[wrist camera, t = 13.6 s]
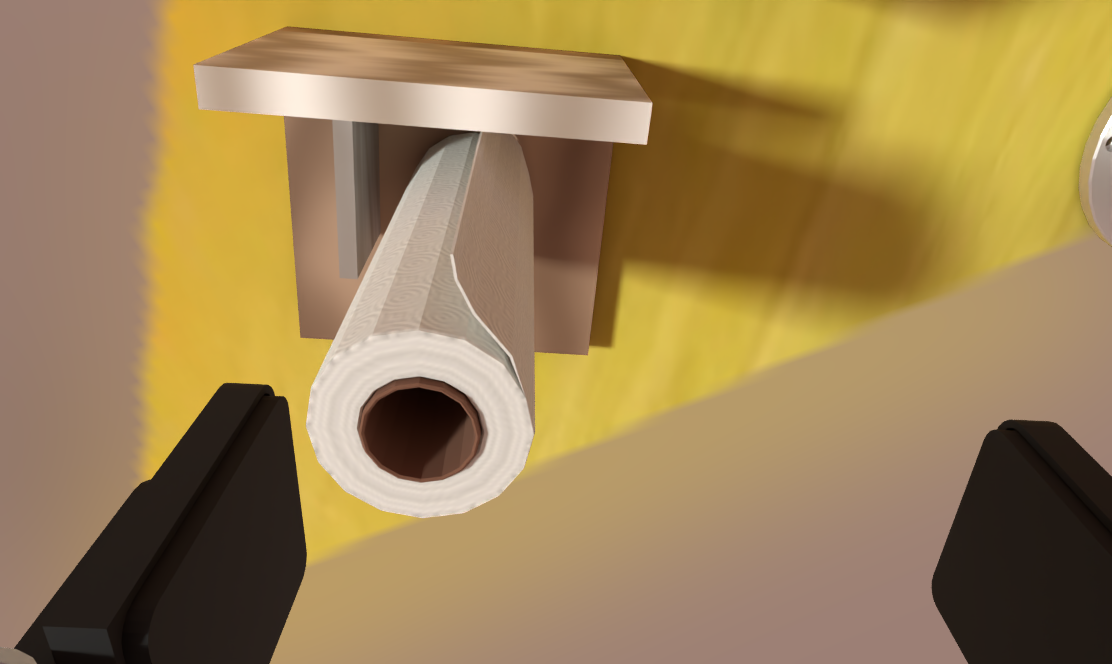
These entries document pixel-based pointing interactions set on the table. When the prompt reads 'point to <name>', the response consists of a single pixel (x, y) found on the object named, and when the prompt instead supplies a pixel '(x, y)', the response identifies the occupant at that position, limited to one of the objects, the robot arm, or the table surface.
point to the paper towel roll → (438, 341)
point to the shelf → (415, 126)
